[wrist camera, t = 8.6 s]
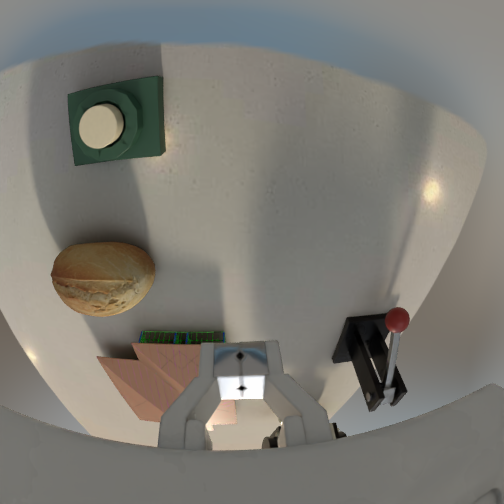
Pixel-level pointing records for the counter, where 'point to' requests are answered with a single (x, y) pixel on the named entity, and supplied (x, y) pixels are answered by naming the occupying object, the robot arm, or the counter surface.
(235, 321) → the counter surface
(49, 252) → the counter surface
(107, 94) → the control block
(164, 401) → the house
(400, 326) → the lever
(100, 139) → the button
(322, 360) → the counter surface
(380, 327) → the bracket
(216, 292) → the counter surface
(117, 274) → the bread roll
